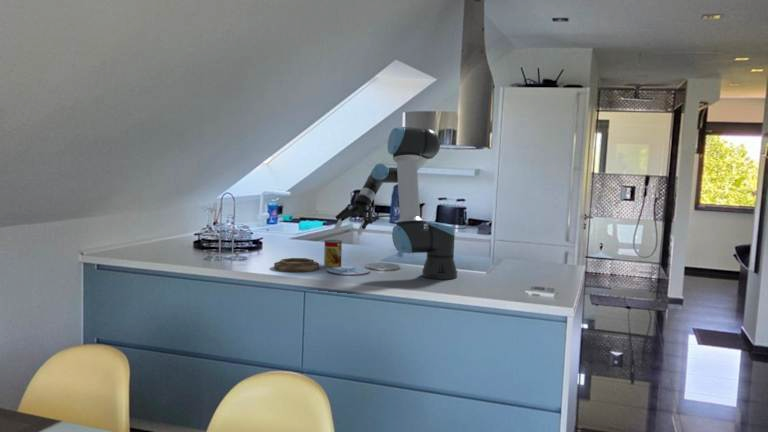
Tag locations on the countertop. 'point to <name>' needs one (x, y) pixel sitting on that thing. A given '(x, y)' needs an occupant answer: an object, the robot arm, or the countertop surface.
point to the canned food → (332, 253)
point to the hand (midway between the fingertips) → (346, 232)
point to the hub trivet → (296, 265)
